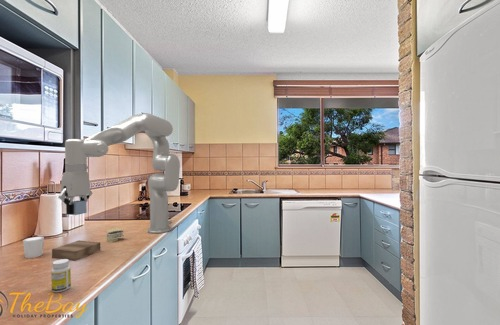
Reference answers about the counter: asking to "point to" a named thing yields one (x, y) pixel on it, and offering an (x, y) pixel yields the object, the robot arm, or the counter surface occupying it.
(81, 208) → the slate cube
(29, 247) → the white short cylinder
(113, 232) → the stacked layers on plate
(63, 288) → the supplement bottle
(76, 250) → the walnut block
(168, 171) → the robot arm
